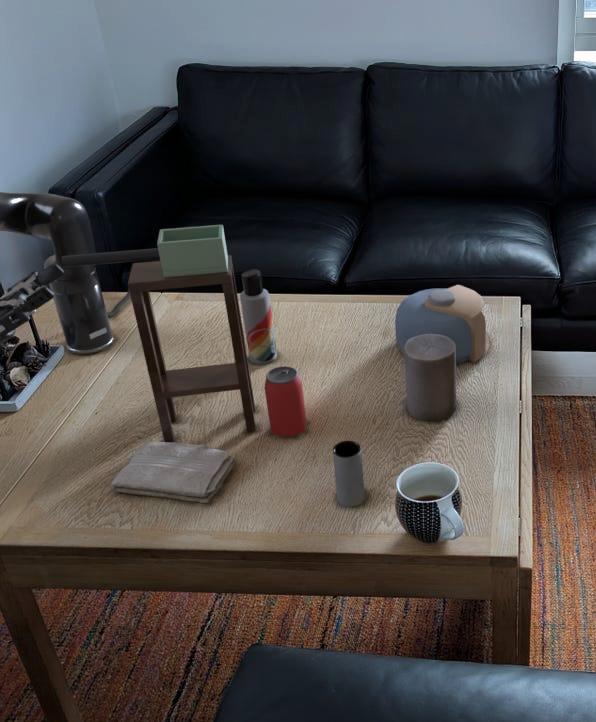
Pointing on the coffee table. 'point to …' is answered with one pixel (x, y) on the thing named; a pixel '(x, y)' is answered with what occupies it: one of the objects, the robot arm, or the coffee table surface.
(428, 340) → the pillar candle
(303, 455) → the coffee table surface
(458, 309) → the alarm clock
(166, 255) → the green box scoop
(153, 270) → the stand
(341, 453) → the grey black cylinder
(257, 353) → the lotion bottle
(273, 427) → the beer can
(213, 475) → the washcloth
